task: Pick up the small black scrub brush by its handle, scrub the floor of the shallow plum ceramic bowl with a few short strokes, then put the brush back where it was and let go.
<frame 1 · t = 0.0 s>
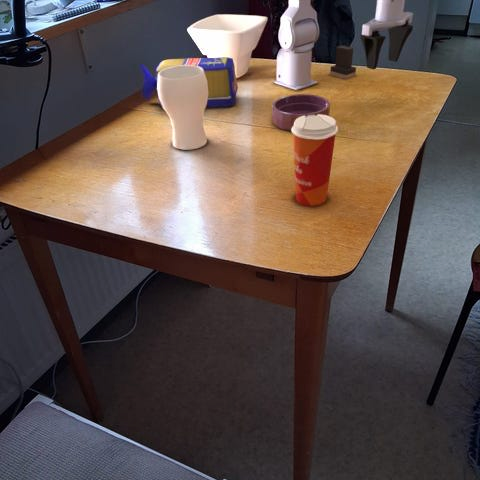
hand: (382, 64, 111), 10 cm above the table, tool pointing down, fingers open, 7 cm apart
paper cup: (311, 199, 89), on the table
brush: (342, 75, 138), on the table
bowl: (231, 76, 143), on the table
plum bowl: (300, 121, 115), on the table
bread: (192, 103, 129), on the table
cup: (190, 143, 110), on the table
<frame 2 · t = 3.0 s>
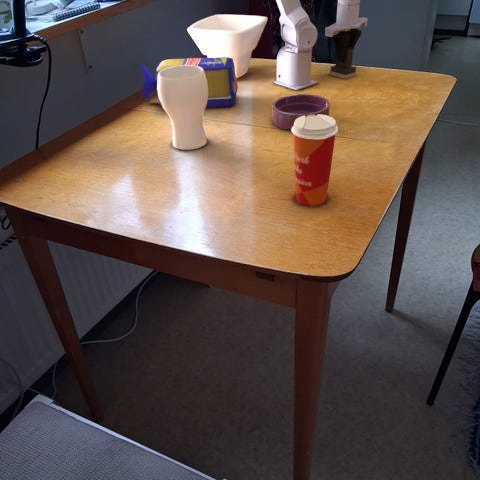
hand: (343, 60, 136), 4 cm above the table, tool pointing down, fingers closed on brush, 2 cm apart
brush: (342, 75, 138), on the table, touching gripper
everything else where it was.
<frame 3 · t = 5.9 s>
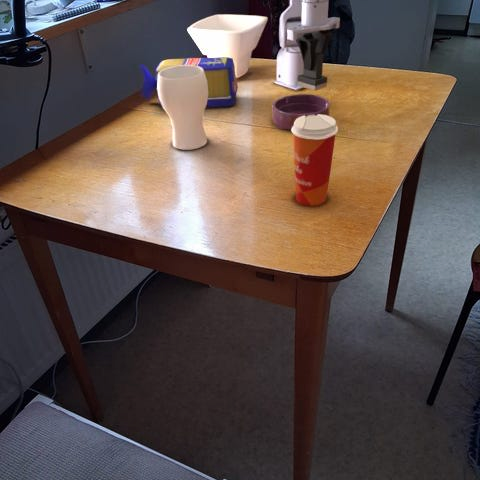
hand: (312, 68, 113), 10 cm above the table, tool pointing down, fingers closed on brush
brush: (312, 86, 116), point 6 cm above the table, touching gripper
everything else where it was.
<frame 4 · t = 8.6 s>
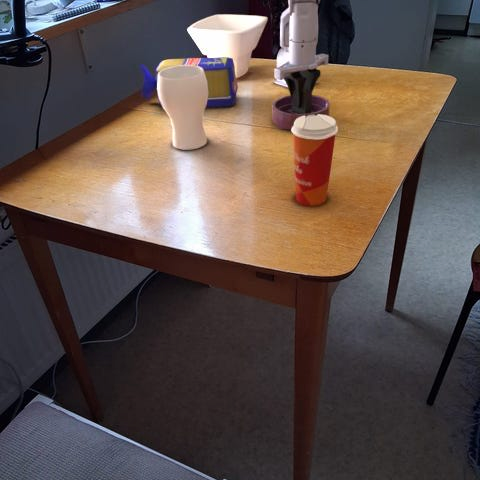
hand: (300, 105, 111), 4 cm above the table, tool pointing down, fingers closed on brush, 2 cm apart
brush: (301, 121, 114), point 1 cm above the table, touching gripper
everything else where it was.
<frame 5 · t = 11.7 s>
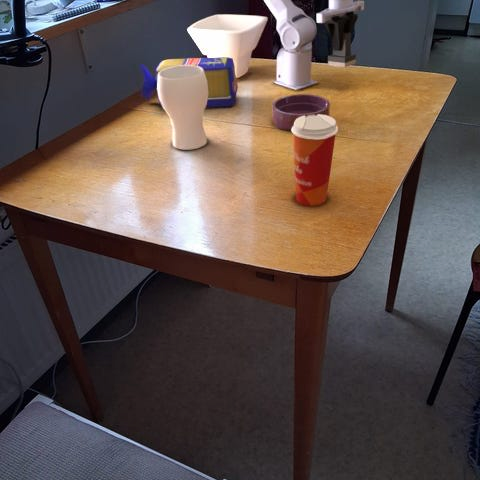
hand: (340, 49, 123), 10 cm above the table, tool pointing down, fingers closed on brush
brush: (341, 64, 125), point 6 cm above the table, tilted 6°, touching gripper
everything else where it was.
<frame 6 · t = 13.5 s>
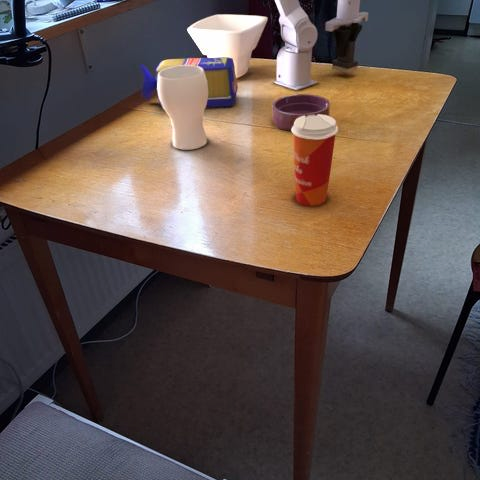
hand: (344, 55, 135), 5 cm above the table, tool pointing down, fingers closed on brush, 2 cm apart
brush: (344, 69, 137), point 2 cm above the table, touching gripper
everything else where it was.
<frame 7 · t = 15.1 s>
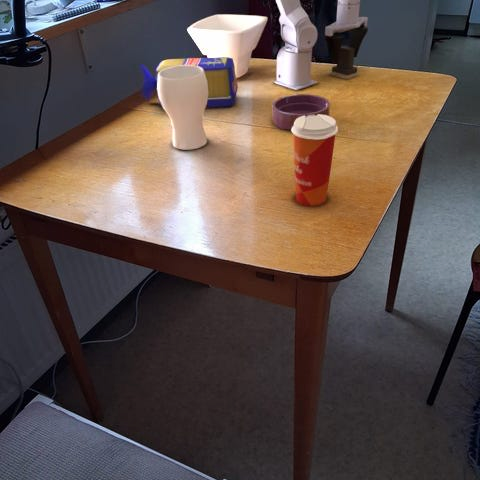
hand: (343, 59, 135), 4 cm above the table, tool pointing down, fingers open, 7 cm apart
brush: (344, 75, 138), on the table
everything else where it was.
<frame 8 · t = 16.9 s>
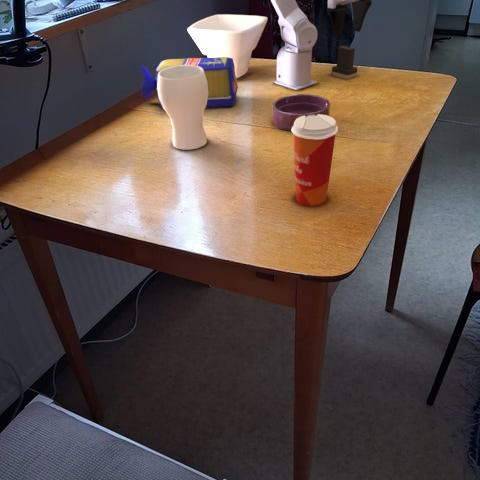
hand: (347, 34, 131), 10 cm above the table, tool pointing down, fingers open, 7 cm apart
nothing on the table moved.
at the end: brush 0.5 cm from the target spot on the table beside the plum bowl, on the table; the gripper is holding nothing; brush tilted 0° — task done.
